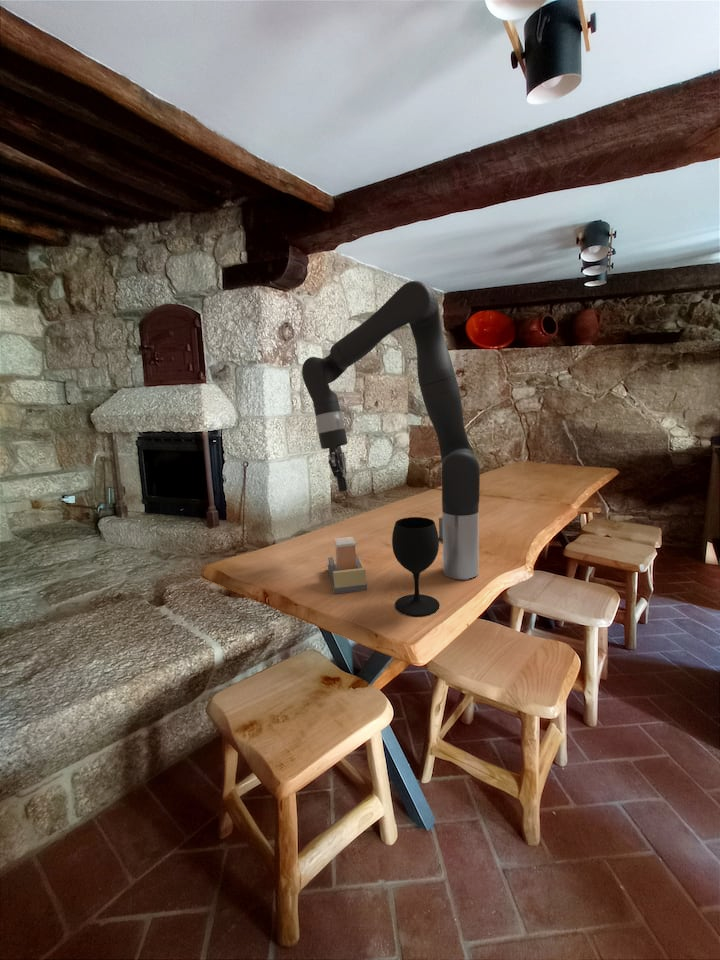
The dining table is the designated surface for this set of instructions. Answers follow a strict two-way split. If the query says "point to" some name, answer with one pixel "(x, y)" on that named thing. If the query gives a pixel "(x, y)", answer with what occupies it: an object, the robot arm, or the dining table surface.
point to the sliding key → (345, 553)
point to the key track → (347, 578)
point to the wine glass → (416, 560)
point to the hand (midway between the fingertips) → (343, 490)
